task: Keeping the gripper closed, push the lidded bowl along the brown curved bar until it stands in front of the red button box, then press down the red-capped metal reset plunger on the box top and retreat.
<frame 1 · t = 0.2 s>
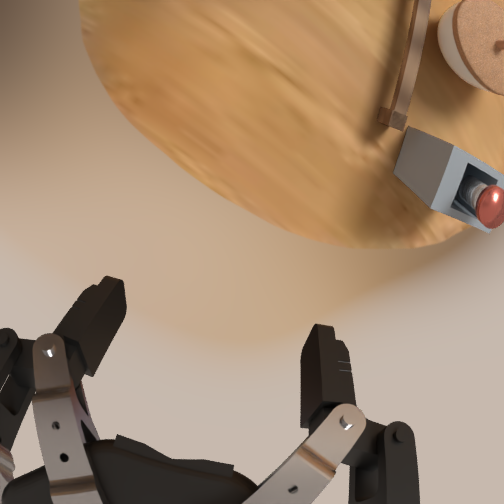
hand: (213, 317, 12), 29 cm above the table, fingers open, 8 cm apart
lidded bowl: (459, 47, 24), on the table
brown curved bar: (404, 43, 26), on the table
plunger: (481, 197, 22), point 13 cm above the table, slide at 0.0 cm
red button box: (429, 162, 34), on the table
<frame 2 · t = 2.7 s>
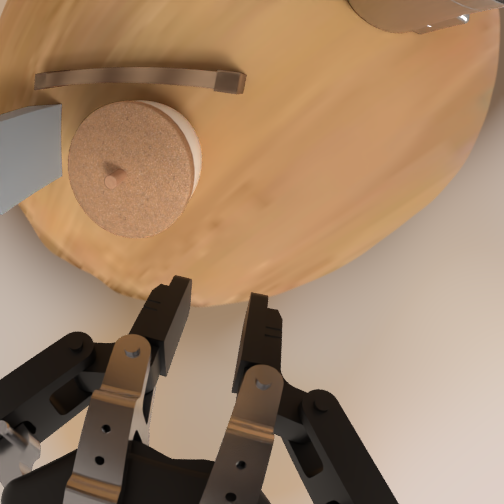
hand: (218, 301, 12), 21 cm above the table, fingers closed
lidded bowl: (161, 149, 30), on the table
brown curved bar: (136, 74, 25), on the table
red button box: (43, 140, 30), on the table
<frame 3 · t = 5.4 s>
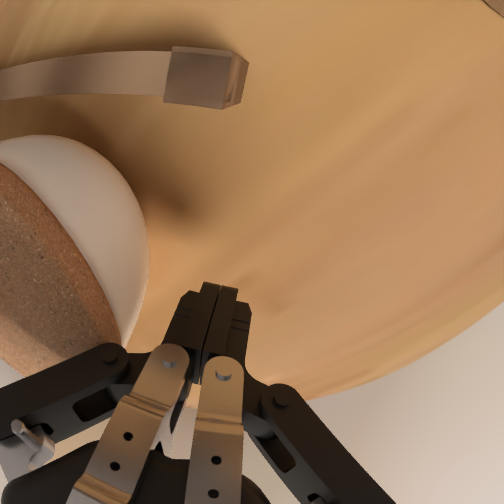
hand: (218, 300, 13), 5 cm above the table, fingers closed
lidded bowl: (91, 210, 16), on the table, touching gripper, hand
brown curved bar: (46, 76, 11), on the table
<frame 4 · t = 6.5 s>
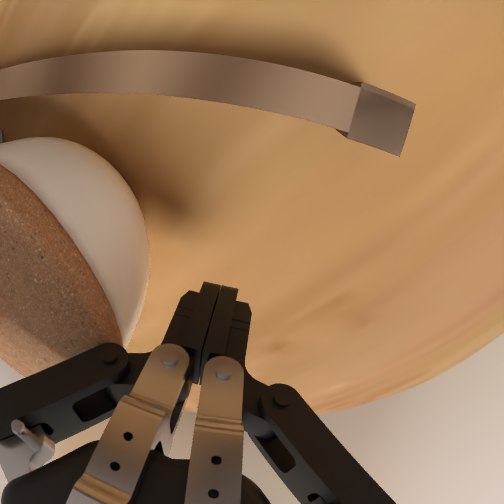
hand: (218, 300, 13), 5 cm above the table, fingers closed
lidded bowl: (91, 212, 16), on the table, touching gripper, hand
brown curved bar: (129, 71, 12), on the table
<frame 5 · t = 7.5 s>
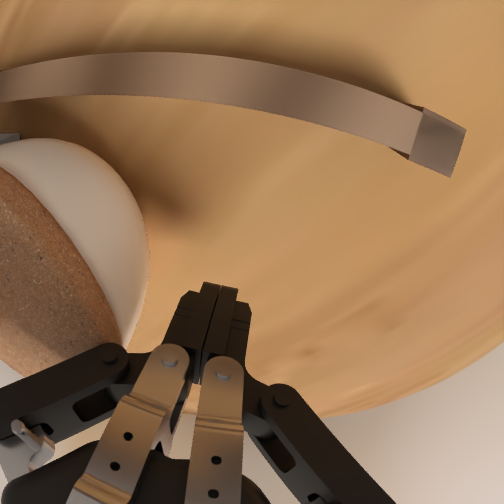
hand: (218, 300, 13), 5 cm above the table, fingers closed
lidded bowl: (91, 212, 16), on the table, touching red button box, gripper, hand
brown curved bar: (170, 74, 12), on the table
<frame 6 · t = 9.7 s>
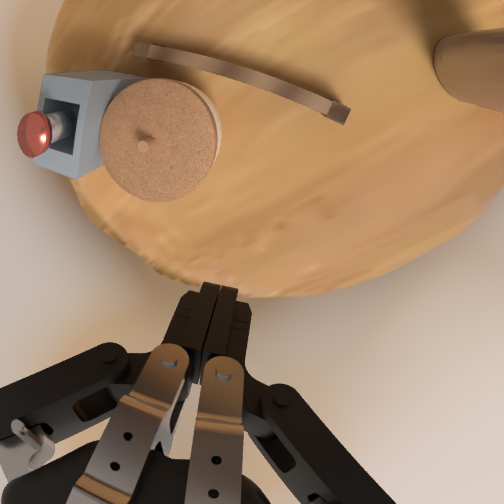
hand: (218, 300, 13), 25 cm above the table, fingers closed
lidded bowl: (182, 127, 33), on the table
brown curved bar: (242, 74, 29), on the table
plunger: (49, 128, 21), point 13 cm above the table, slide at 0.0 cm
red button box: (117, 109, 32), on the table
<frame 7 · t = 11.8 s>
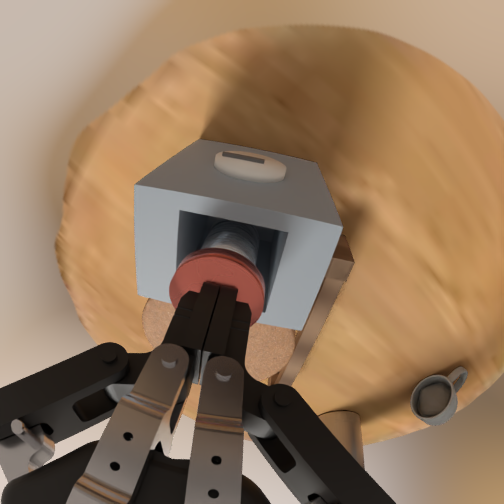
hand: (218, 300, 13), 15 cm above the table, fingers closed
ceramic mug: (437, 380, 39), on the table
lidded bowl: (232, 275, 30), on the table
brown curved bar: (300, 323, 33), on the table
plunger: (225, 265, 15), point 12 cm above the table, slide at 1.3 cm, touching gripper
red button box: (250, 187, 25), on the table
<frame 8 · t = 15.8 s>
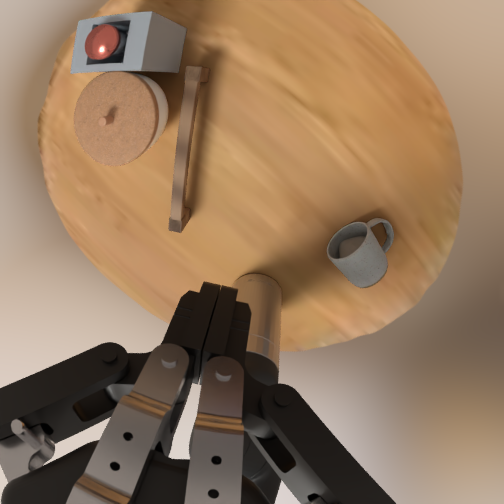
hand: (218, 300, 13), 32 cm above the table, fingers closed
ceramic mug: (360, 238, 46), on the table
lidded bowl: (142, 110, 38), on the table
brown curved bar: (191, 147, 40), on the table
plunger: (112, 43, 23), point 11 cm above the table, slide at 2.5 cm
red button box: (150, 49, 33), on the table
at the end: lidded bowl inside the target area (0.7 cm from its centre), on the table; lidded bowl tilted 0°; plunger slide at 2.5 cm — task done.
